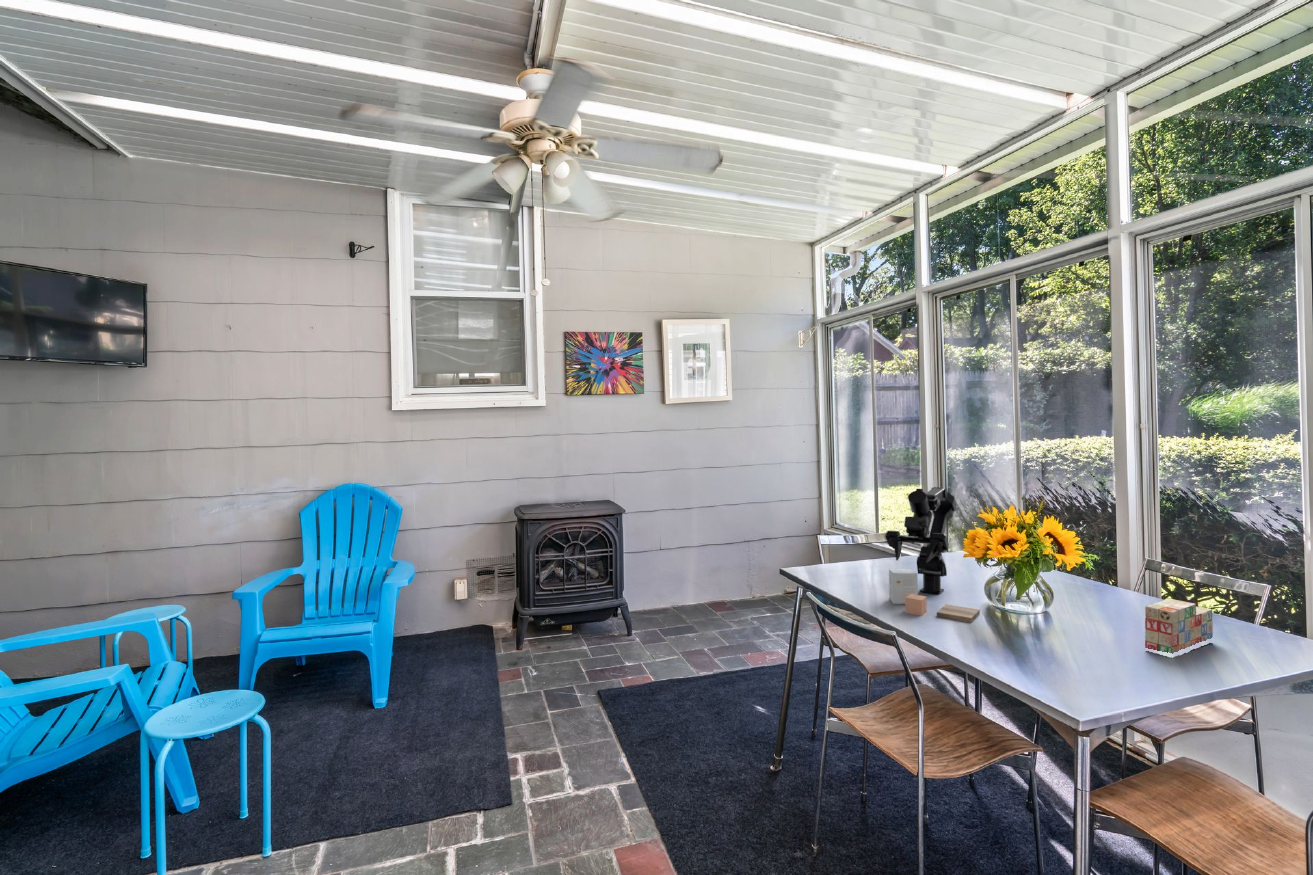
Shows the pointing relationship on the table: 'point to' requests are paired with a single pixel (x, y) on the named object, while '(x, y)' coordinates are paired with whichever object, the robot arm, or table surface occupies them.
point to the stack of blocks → (1176, 625)
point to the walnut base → (958, 613)
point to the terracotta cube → (916, 604)
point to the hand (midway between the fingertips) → (911, 560)
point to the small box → (902, 584)
